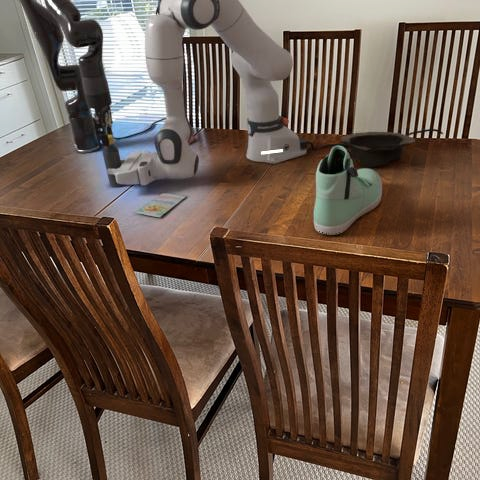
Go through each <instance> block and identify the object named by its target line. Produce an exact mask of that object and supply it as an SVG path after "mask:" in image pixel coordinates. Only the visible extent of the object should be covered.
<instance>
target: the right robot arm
mask: <svg viewBox="0 0 480 480" xmlns="http://www.w3.org/2000/svg"><path fill="white" fill-rule="evenodd" d="M210 26H211V27H212V28H213V30H214V31H215V32H216V34H217V35H218V36H219V37H220V38H221V40H222V41H223V42H224V44H225V45H226V46H227V47H228V49H230V50H231V51H232V53H231V57H230V58H231V65H232V67H233V68H234V70H235V71H236V72H237V75H238V76H239V78H240V81H241V84H242V86H243V89H244V93H245V97H246V105H247V119H246V122H247V123H246V128H247V129H246V131H247V134H248V142H247V150H246V154H245V157H246V158H247V159H248V160H250V161H253V162H256V163H257V162H258V163H267V164H272V165H273V164H278V163H282V162H285V161H287V160H292V159H295V158H298V157H302V156H304V155H307V153H308V152H307V151H308V150H307V148H308V145H310V148H311V149H312V150H320V149H324V148H328V147H334V146H342V147H349V148H350V146H349V145H346V144H343V143H328V144H325V145H322V146H320V147H314V143H313V142H312V141H307V140H306V139H305V137H299V136H298V134H297V133H296V132H294V131H293V130H291V129H290V128H289V127H288V126H287V125H289V122H290V120H289V119H288V118H287V117H284V116H281V115H280V104H279V103H280V102H279V94H278V92H277V90H276V89H275V88H274V86H273V85H272V84H273V83H272V82H279V81H284V80H285V79H287V78H288V77H289V76H290V75H291V72H292V70H293V66H294V60H293V56H292V54H291V53H290V52H289V51H288V50H287V49H286V48H283V47H282V46H281V45H279V44H278V43H277V42H276V41H274V40H273V39H272V37H270V36H269V35H268V34H267V33H266V32H265V31H264V30H262V28H261V27H260V26H259V25H258V24H257V23H256V22H255V21H254V20H253V18H252V16H251V15H250V14H249V12H248V11H247V9H246V8H245V7H244V6H243V4H242V3H241V1H240V0H157V7H156V10H155V15H152V16H151V17H149V18H148V19H147V21H146V23H145V29H144V31H145V32H144V54H145V64H146V71H147V74H148V77H149V80H150V81H151V82H152V83H153V84H155V85H156V86H158V87H160V89H161V90H162V92H163V93H162V94H163V97H164V105H165V113H166V114H165V118H166V119H165V120H164V123H163V125H162V126H161V127H160V129H159V130H158V131H157V132H156V134H155V136H154V139H153V140H154V146H155V150H156V152H150V151H147V150H146V151H143V150H135V151H132V152H131V153H130V154H129V155H128V157H124V158H120V160H121V164H122V165H121V167H120V168H117V169H114V168H108V170H106V173H107V172H108V174H113V175H115V178H116V182H117V183H119V184H124V185H139V184H140V185H141V186H147V185H149V184H150V183H152V182H154V181H156V180H164V179H171V180H183V179H190V178H193V177H195V176H196V174H197V172H198V170H199V164H200V163H199V162H200V159H199V154H197V153H196V152H195V151H194V150H193V148H192V147H191V146H190V143H189V144H188V141H189V140H190V139H191V136H193V128H192V125H191V122H190V121H189V117H187V113H186V105H185V95H184V83H183V82H184V49H183V39H184V34H185V32H186V30H187V29H191V30H195V31H200V30H204V29H206V28H208V27H210ZM428 132H436V133H439V134H440V135H444V133H443V131H441V130H440V129H437V128H428V129H422V130H416V131H412V132H409V133H406V134H405V135H407V136H409V137H410V136H411V135H415V134H421V133H428Z"/></svg>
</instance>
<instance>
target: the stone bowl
mask: <svg viewBox="0 0 480 480" xmlns="http://www.w3.org/2000/svg"><path fill="white" fill-rule="evenodd" d="M340 139H341V140H340V143H339V144H346V145H349V146H350V147H349V152H350V154H351V155H352V157H353V158H354V159H356V160H358V162H359V166H361V167H364V168H367V167H368V168H377V167H386V166H388V165H389V164H390V162H398V161H400V160H401V157H402V153H403V148H404V147H408V146H410V145H412V144H414V143H415V142H416V139H415V138H413V137H411V136H410V135H409V136H407V135H406V134H403V133H399V132H392V131H364V132H355V133H350V134H346V135H343V136H342V137H341V138H340Z"/></svg>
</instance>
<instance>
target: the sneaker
mask: <svg viewBox="0 0 480 480" xmlns="http://www.w3.org/2000/svg"><path fill="white" fill-rule="evenodd" d="M317 165H318V166H317V168H316V172H315V201H314V207H313V225H314V229H315V231H316V232H318V233H320V234H323V235H326V236H327V235H328V236H336V235H339V234H342V233H344V232H345V231H347V230H348V229H349V228H350V227H351V226H352V225H353V224H354V222H356V221H357V220H358V219H359V218H360V217H362V216H363V215H365V214H367V213H370V212H372V210H374V209H375V208H377V207H378V205H380V203H381V200H382V196H383V184H382V183H383V182H382V179H381V176H380V175H379V173H378V172H377V171H376V170H374V169H372V168H369V167H368V168H367V167H364V168H358V169H357V168H355V167H354V161H353V159H352V158H351V156H350V153H349V152H348V150H347V148H345V146H332V147H331V149H330V151H329V154H327V155H326V156H325V157H324V158H322V159H321V160H320V161H319V163H318V164H317ZM343 230H344V231H343ZM319 231H320V232H319ZM322 232H323V233H322ZM339 232H340V233H339ZM326 233H327V234H326ZM328 233H329V234H328ZM335 233H337V234H335Z"/></svg>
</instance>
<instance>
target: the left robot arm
mask: <svg viewBox="0 0 480 480" xmlns="http://www.w3.org/2000/svg"><path fill="white" fill-rule="evenodd" d="M18 2H19V3H20V5H21V7H22V9H23V11H24V13H25V16H26V18H27V20H28V23H29V25H30V28H31V30H32V32H33V35H34V37H35V39H36V41H37V43H38V45H39V48H40V49H41V51H42V53H43V56H44V58H45V60H46V62H47V66H48V68H49V69H48V70H49V71H50V74H51V77H52V79H53V82H54V84H55V86H56V88H57V89H58V90H59V91H60V92H73V91H76V93H77V94H76V95H75V96H73V97H71V98H69V99H67V100H65V102H64V106H65V110H66V114H67V115H66V116H67V118H68V122H69V126H70V130H71V133H72V137H73V145H74V147H75V150H76V152H77V153H80V154H87V153H92V152H96V151H97V150H99V149H100V148H102V147H104V146H109V139H108V135H113V137H114V140H123V139H129V138H131V137H135V136H138V135H141V134H144V133H146V132H148V131H150V130H151V129H152V128H153V126H154V125H156V124H158V123H160V122H162V121H165V120H166V117H164V118H161V119H158V120H157V121H154V122H152V123H151V125H150V126H149V127H148V128H147V129H145V130H142V131H139V132H136V133H133V134H129V135H126V136H123V137H121V136H120V137H115V136H114V133H113V123H114V121H113V117H112V109H111V105H112V104H113V100H112V96H111V91H110V86H109V82H108V78H107V77H106V72H105V68H104V67H105V66H104V62H103V53H104V52H103V51H104V50H103V49H104V48H103V47H104V32H103V29H102V28H103V27H102V26H101V25H100V23H99V21H97V20H96V19H93V18H89V19H88V18H87V19H81V18H82V15H81V12H80V10H79V8H78V7H77V6H76V5H75V4H74V3H73V1H72V0H44V5H45V6H44V5H42V4H41V3H40V2H38V1H37V0H18ZM64 39H65V40H66V42H67V43H68V45H70V46H72V47H73V48H77V49H82V48H86V47H88V49H87V52H86V53H84V54H83V55H81V56H80V57H78V64H66V65H61V64H60V63H59V57H60V53H61V50H62V47H63V45H64ZM92 109H93V110H94V113H92Z"/></svg>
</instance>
